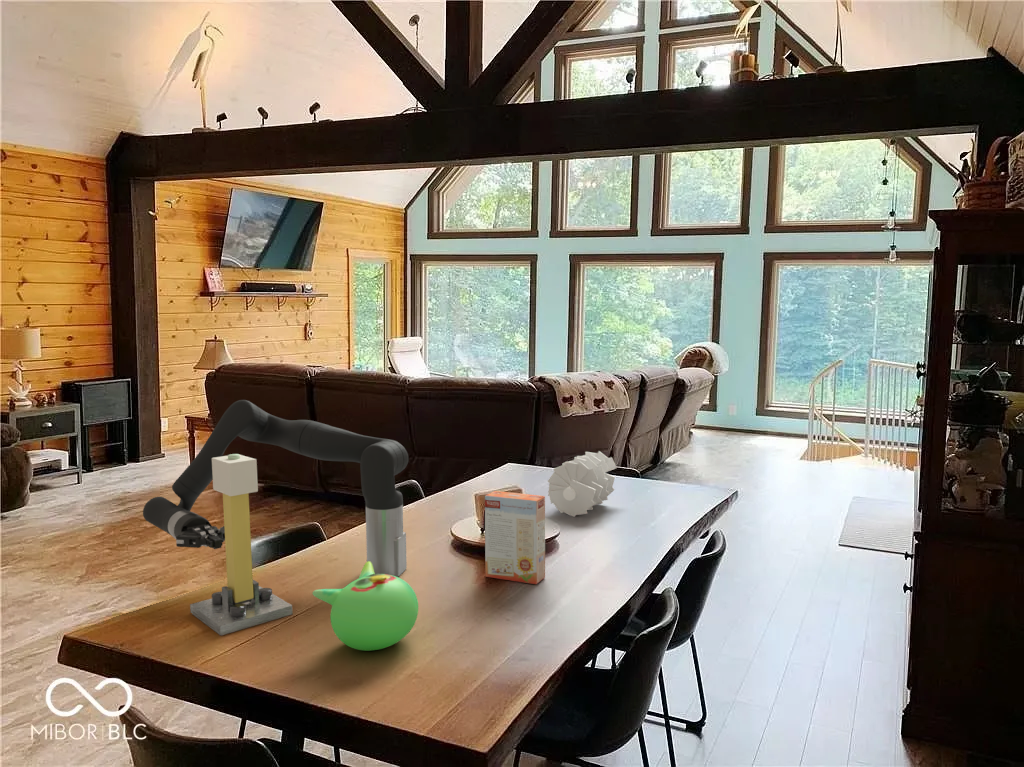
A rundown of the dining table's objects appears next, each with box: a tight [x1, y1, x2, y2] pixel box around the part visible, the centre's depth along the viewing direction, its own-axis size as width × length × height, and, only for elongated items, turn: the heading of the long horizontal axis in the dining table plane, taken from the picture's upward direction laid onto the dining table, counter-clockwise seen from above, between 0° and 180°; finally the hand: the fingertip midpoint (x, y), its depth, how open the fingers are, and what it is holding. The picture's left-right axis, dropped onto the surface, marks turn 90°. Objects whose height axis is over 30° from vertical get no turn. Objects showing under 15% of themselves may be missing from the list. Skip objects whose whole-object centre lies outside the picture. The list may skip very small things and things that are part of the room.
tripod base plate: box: [189, 579, 294, 636], centre depth 171 cm, size 16×16×6 cm
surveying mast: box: [212, 453, 259, 605], centre depth 170 cm, size 9×6×33 cm, turn 43°
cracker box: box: [484, 490, 546, 585], centre depth 192 cm, size 14×6×21 cm, turn 65°
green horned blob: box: [312, 561, 419, 652], centre depth 156 cm, size 18×17×15 cm
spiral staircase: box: [547, 450, 618, 518], centre depth 255 cm, size 18×18×25 cm
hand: (218, 544), depth 178 cm, fingers closed
